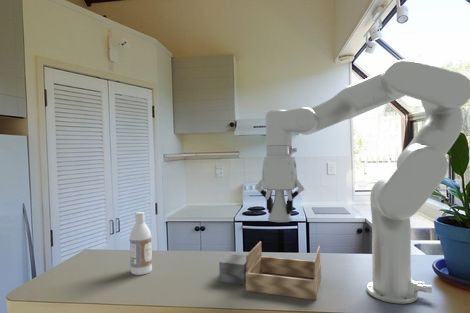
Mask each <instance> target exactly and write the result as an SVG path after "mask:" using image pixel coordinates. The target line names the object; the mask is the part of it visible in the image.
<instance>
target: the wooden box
mask: <svg viewBox="0 0 470 313" xmlns="http://www.w3.org/2000/svg"><path fill="white" fill-rule="evenodd" d="M262 253H263V252H262V241H261V240H260V241H259V242H257V244H255V246H254V247H253V248H252V249H251V250H250V251H249V252H248V253H247V255H245V256H246V283H245V291H247V292H254V293H261V294H262V293H263V294H268V295H269V294H270V295H278V296H284V297H293V298H299V299H306V300H313V301H314V300H315V301H317V298H318V293H319V288H320V285H321V280H322V262H321V246H320V245H318V247H317V250H316V252H315V256H314V258H313V260H308V259H307V260H306V259H296V258H285V257H276V256H266V255H265V256H264V255H262ZM265 273H268V274H265ZM275 274H276V275H275ZM277 274H278V275H277ZM282 275H283V276H282ZM284 275H285V276H284ZM286 275H287V276H286ZM291 276H293V277H291ZM294 276H295V277H294ZM301 277H304V278H301ZM308 278H313V279H308Z"/></svg>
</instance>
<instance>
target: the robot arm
mask: <svg viewBox="0 0 470 313" xmlns="http://www.w3.org/2000/svg"><path fill="white" fill-rule="evenodd" d="M405 96H407V97H410V98H412V99H415V100H420V101H421V105H422V108H423V109H424V112H425V119H424V123H423V125H422V126H421V127H420V128H419V130H418V131H417V134H416V135H415V136H414V137H413V138H412V140H411V141H410V142H409V143H408V145H407V146H406V147H405V148H404V149H403V150H402V152H401V153H400V154H399V155H398V157H397V160H396V169H395V171H394V172H393V173H392V174H391V176H390V177H387V178H386V177H385V178H382V179H379V180H378V181H377V182H376V183H374V185H373V186H372V188H371V191H370V211H371V232H372V233H371V255H372V256H371V257H372V259H371V260H372V262H371V263H372V264H371V265H372V266H371V267H372V280H371V281H369V282H368V283H367V285H366V292H367V293H368V294H369V295H370V296H371V297H373V298H376V299H378V300H380V301H382V302H387V303H392V304H398V305H401V304H403V305H406V304H412V303H414V302H416V301H417V300H418V298H419V292H422V293H428V294H432V293H433V290H432V289H433V287H432V285H431V284H425V282H424V281H415V280H414V279H413V278H412V259H411V258H412V255H411V254H412V252H411V251H412V250H411V248H412V247H411V245H412V244H411V243H412V242H411V240H412V237H411V235H412V233H411V232H412V231H411V229H412V228H411V227H412V226H411V217H412V216H414V215H415V214H417V212H418V211H419V210H420V209H421V208H422V206H424V204H425V203H426V202H427V201H428V199H429V198H430V197H431V196H432V195H433V194H434V192H435V191H436V190H437V188H438V187H439V186H440V185H441V183H442V182H443V180H444V179H445V177H446V175H447V172H448V170H449V162H448V158H447V156H446V155H447V153H448V152H449V151H450V149H451V148H452V147H453V145H454V144H455V142H456V141H457V140H458V138H459V136H460V134H461V133H462V129H463V115H462V114H463V113H462V109H461V107H464V105H466V104H467V103H468V102H469V100H470V78H468V77H467V76H466V75H464V74H462V73H460V72H458V71H454V70H450V69H446V68H443V67H438V66H434V65H432V64H427V63H424V62H419V61H415V60H410V59H400V60H396V61H394V62H392V63H391V64H389V65H388V67H387V68H386V69H385V70H383V71H381V72H378V73H376V74H373V75H372V76H369V77H367V78H365V79H362V80H360V81H357V82H355V83H353V84H350V85H348V86H346V87H345V88H343V89H341V90H340V91H339V92H338V93H336V94H335V95H334V96H333V97H331V98H329V99H328V100H326V101H324V102H321V103H320V104H318V105H316V106H313V107H311V108H310V107H304V106H303V107H298V108H292V109H272V110H268V111H267V112H266V115H265V149H266V150H265V152H266V154H265V155H266V156H263V160H262V161H263V162H262V170H261V179H260V180H259V182H258V183H257V185H256V186H255V190H256V191H257V192H259V193H260V194H261V196H263V198H264V199H265V201H266V210H267V211H268V214H270V213H271V208H272V205H273V202H274V198H273V197H272V195H273V191H275V190H284V191H285V192H286V196H287V200H286V204H287V214H290V215H291V213H292V212H293V210H294V199H296V197H297V196H298V195H300V194H301V193H302V192H303V191H304V190H305V187H304V186H303V185H302V183H301V182H300V181H299V179H298V173H297V172H298V170H297V162H296V157H295V156H292V155H293V154H294V153H297V152H298V151H297V150H298V149H297V147H294V146H292V142H293V141H292V134H299V135H303V136H308V135H312V134H314V133H317V132H319V131H321V130H324V129H327V128H329V127H332V126H334V125H336V124H339V123H341V122H343V121H346V120H350V119H352V118H356V117H358V116H361V115H363V114H364V113H367V112H370V111H372V110H374V109H376V108H379V107H382V106H385V105H386V104H389V103H391V102H394V101H397V100H399V99H401V98H404V97H405ZM296 188H297V189H296ZM295 189H296V190H295ZM293 190H295V191H293Z"/></svg>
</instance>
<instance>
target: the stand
mask: <svg viewBox="0 0 470 313" xmlns="http://www.w3.org/2000/svg"><path fill="white" fill-rule="evenodd" d="M218 263H219V268H218V269H219V282H222V283H228V284H237V285H243V286H244V285H245V286H246V255H244V254H243V255H242V254H233V253H232V254H231V253H228V254H227V255H225V257H223V258H222V259H221V260H220V261H219V262H218Z"/></svg>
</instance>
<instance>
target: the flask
mask: <svg viewBox="0 0 470 313" xmlns="http://www.w3.org/2000/svg"><path fill="white" fill-rule="evenodd" d="M285 197H286V196H285V190H274V198H273V205H272V208H271V213H268V218H267V220H268V221H269V222H273V223H289V222H291V221H293V219H292V218H293V217H292V216H291V213H290V214H287V200H286V198H285Z"/></svg>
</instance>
